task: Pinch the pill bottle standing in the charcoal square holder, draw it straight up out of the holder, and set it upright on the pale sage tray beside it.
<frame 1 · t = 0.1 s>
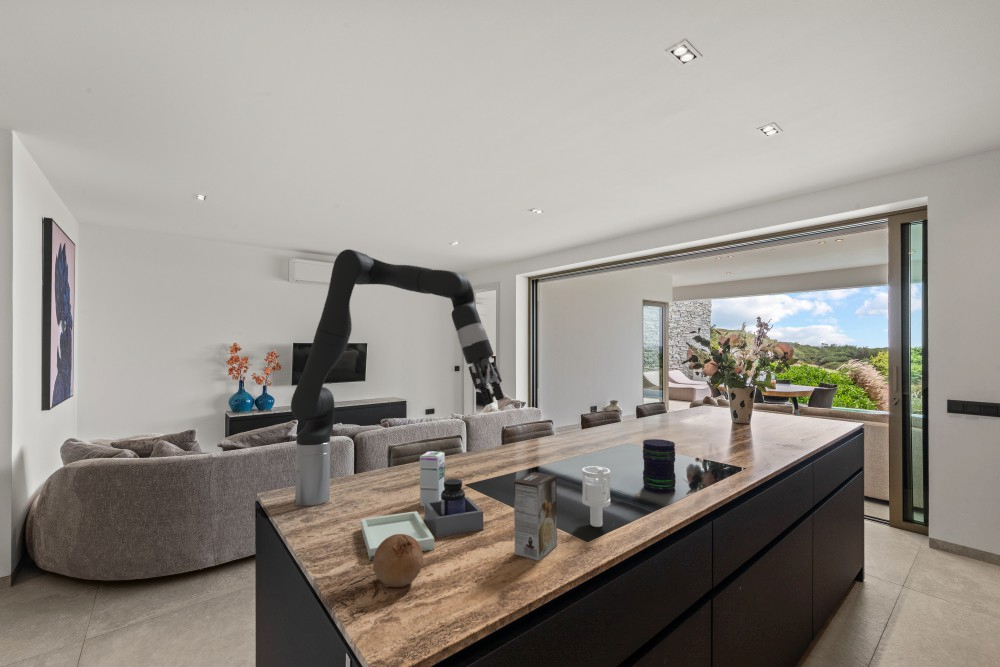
hand: (495, 401, 117), 31 cm above the counter, tool tilted 20°, fingers open, 8 cm apart
storage jar: (659, 490, 144), on the counter
pill bottle: (453, 525, 116), resting in holder
syrup box: (432, 504, 131), on the counter
holder: (453, 524, 116), on the counter
tray: (395, 538, 107), on the counter
white cylindrical cage part: (596, 525, 116), on the counter
onion: (398, 583, 87), on the counter
coffee box: (536, 551, 101), on the counter
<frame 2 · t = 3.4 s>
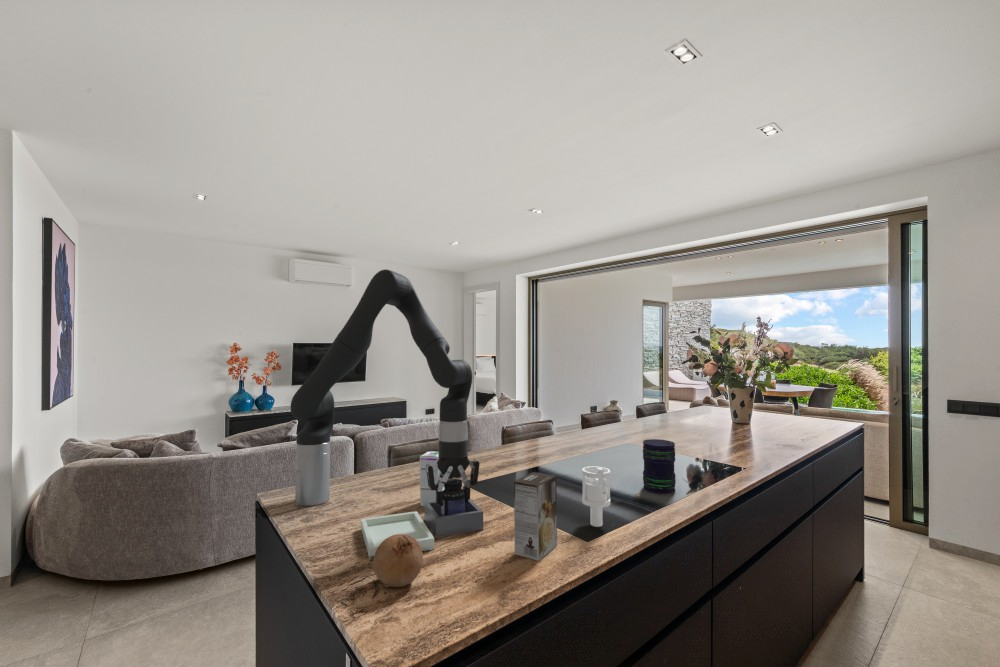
hand: (452, 503, 116), 5 cm above the counter, tool pointing down, fingers closed on pill bottle, 6 cm apart
pill bottle: (453, 525, 116), resting in holder, touching gripper
everything else where it was.
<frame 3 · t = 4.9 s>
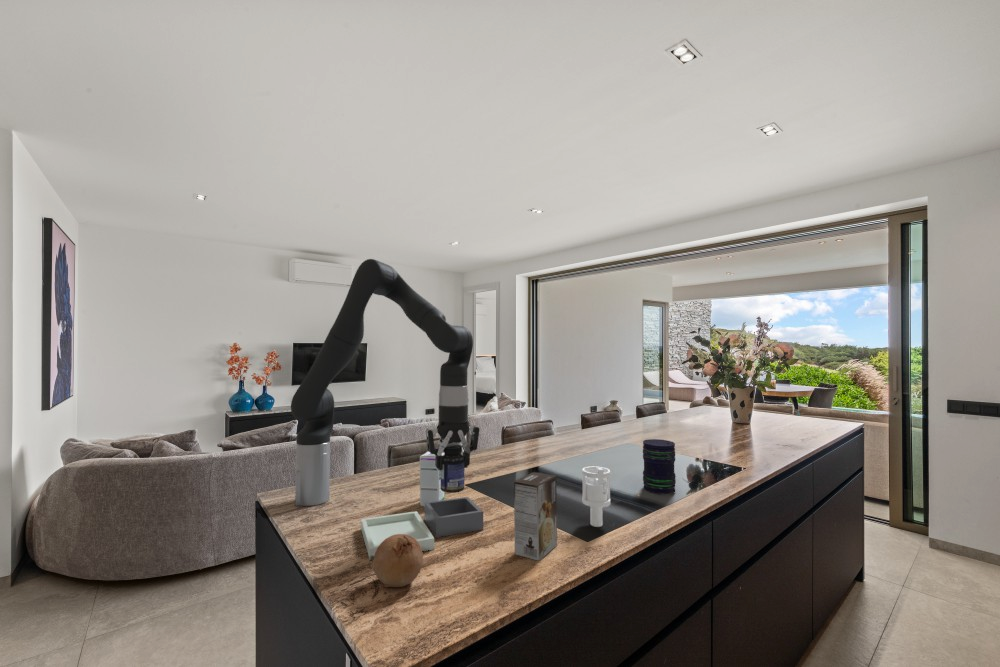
hand: (452, 468, 116), 14 cm above the counter, tool pointing down, fingers closed on pill bottle, 6 cm apart
pill bottle: (452, 490, 116), point 9 cm above the counter, touching gripper
everything else where it was.
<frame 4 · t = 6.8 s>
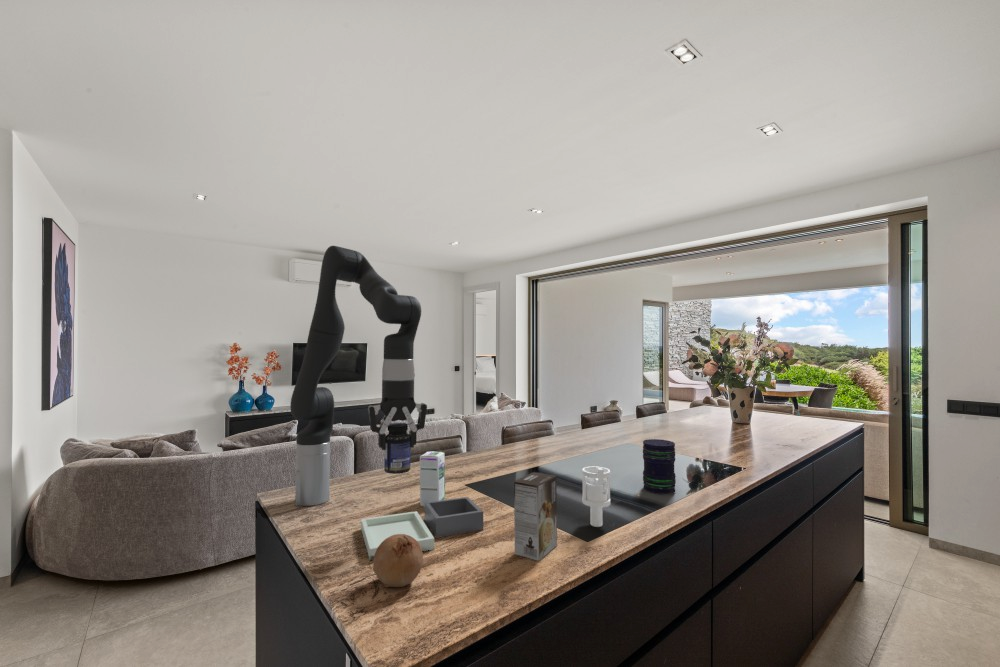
hand: (397, 448, 108), 21 cm above the counter, tool pointing down, fingers closed on pill bottle, 6 cm apart
pill bottle: (397, 471, 108), point 16 cm above the counter, touching gripper
everything else where it was.
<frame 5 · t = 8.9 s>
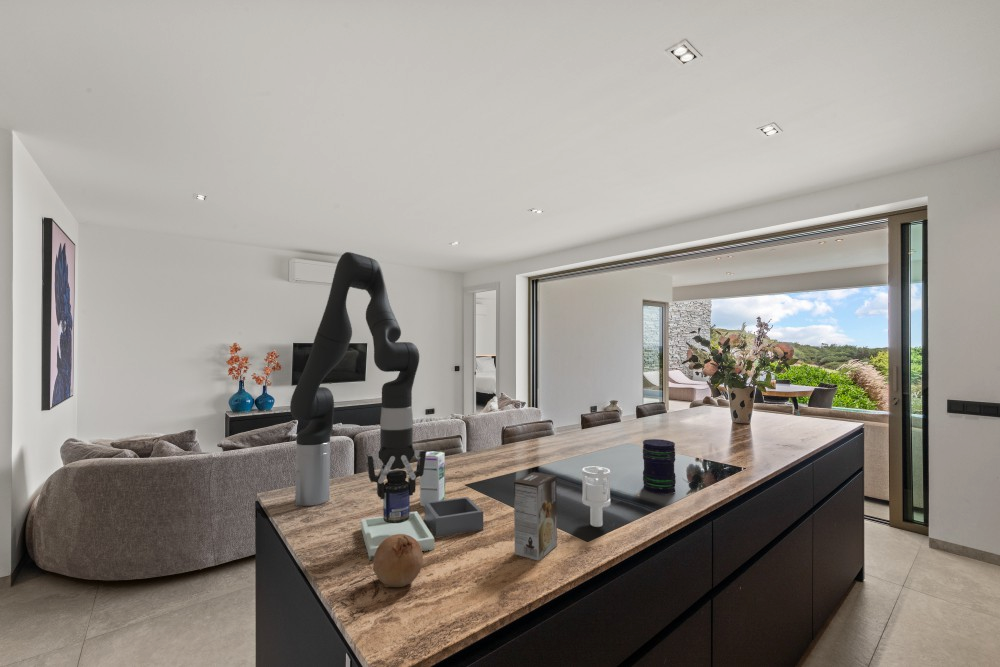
hand: (396, 496, 107), 10 cm above the counter, tool pointing down, fingers closed on pill bottle, 6 cm apart
pill bottle: (396, 520, 107), point 4 cm above the counter, touching gripper
everything else where it was.
when the fingers open (7 cm above the counter, at t = 10.4 s): pill bottle drops 1 cm, resting on tray.
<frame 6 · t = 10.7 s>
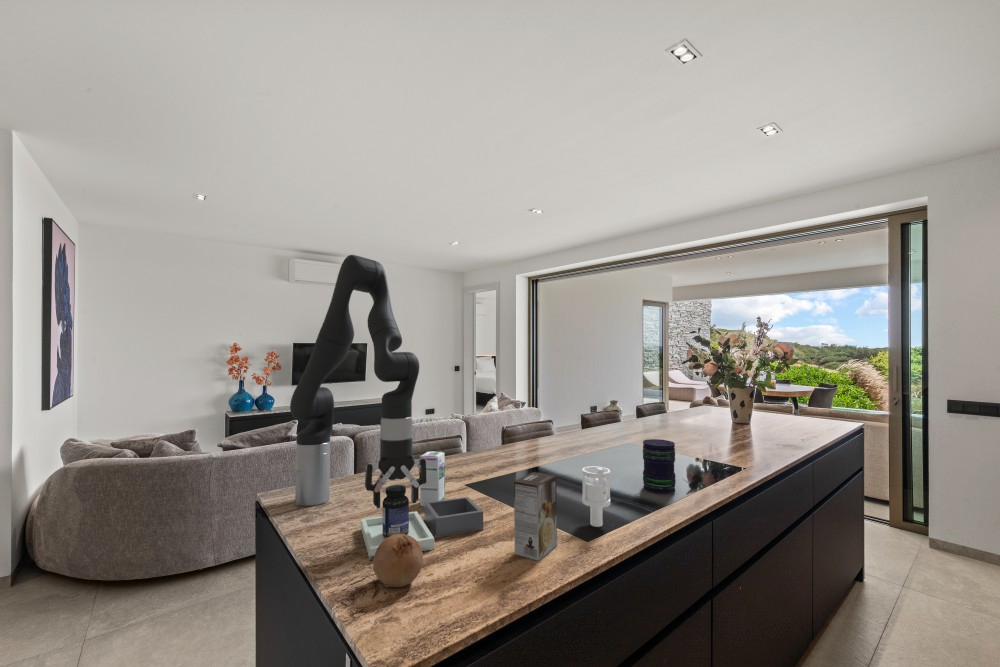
hand: (396, 504, 107), 8 cm above the counter, tool pointing down, fingers open, 8 cm apart
pill bottle: (395, 535, 107), point 1 cm above the counter, touching tray
everything else where it was.
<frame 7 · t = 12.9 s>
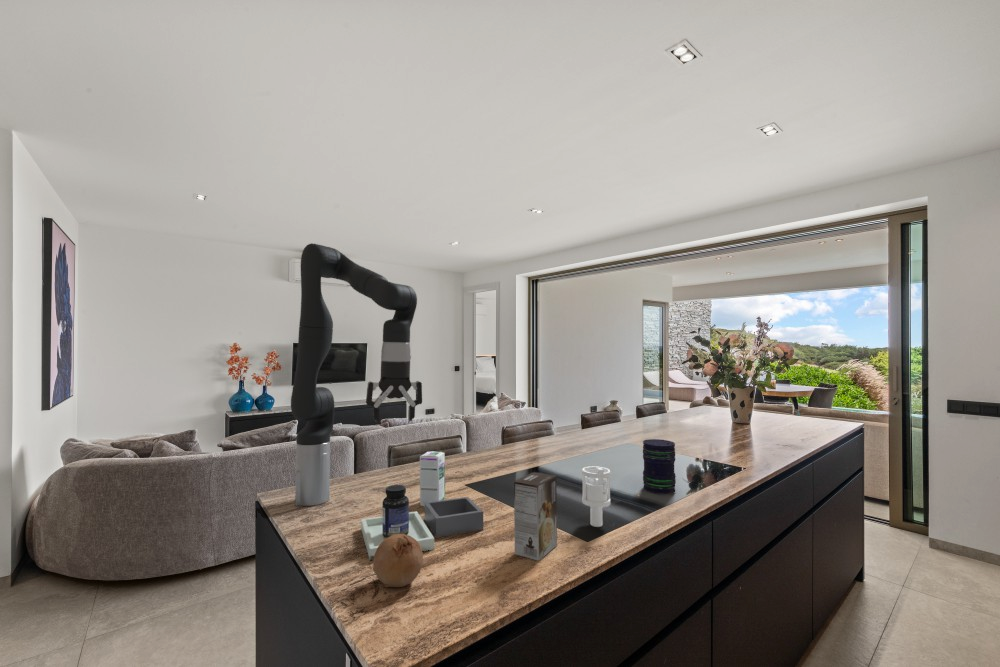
hand: (393, 421, 119), 26 cm above the counter, tool pointing down, fingers open, 8 cm apart
nothing on the counter moved.
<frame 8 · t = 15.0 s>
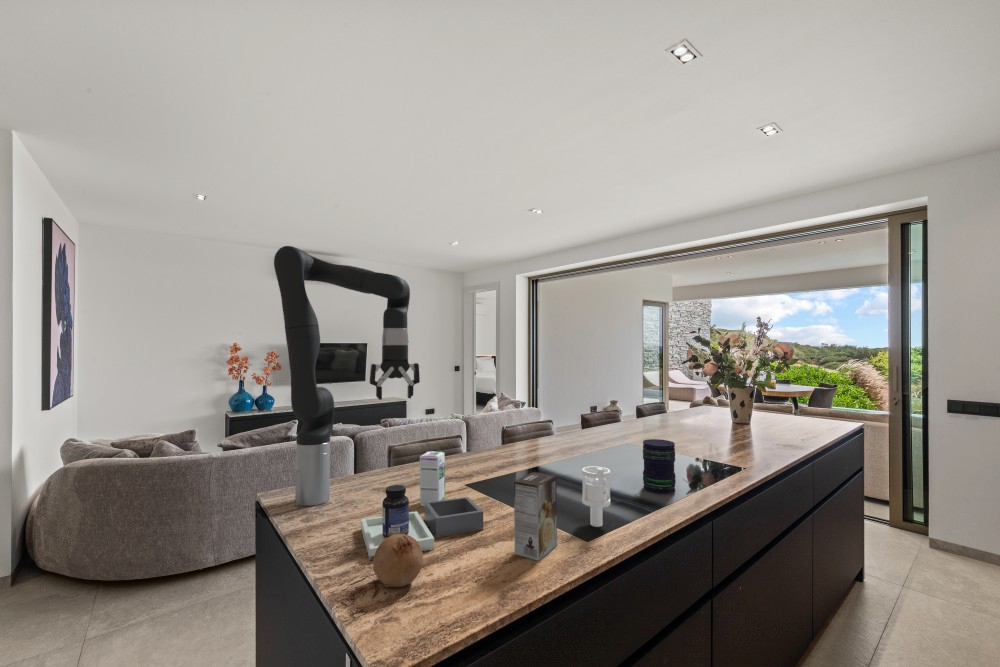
hand: (394, 398, 133), 30 cm above the counter, tool pointing down, fingers open, 8 cm apart
nothing on the counter moved.
at the end: pill bottle inside the target area on the tray (0.1 cm from its centre), point 0.8 cm above the tray's base; pill bottle tilted 0°; the gripper is holding nothing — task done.
